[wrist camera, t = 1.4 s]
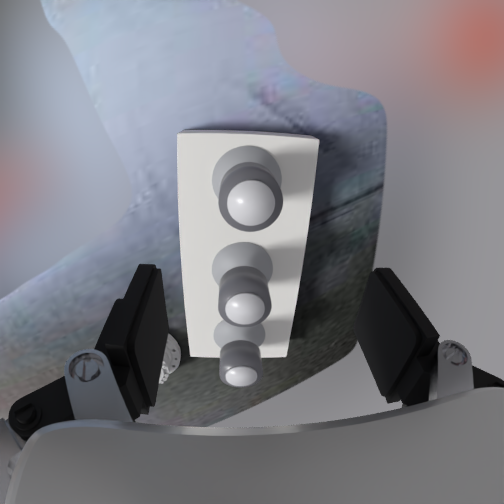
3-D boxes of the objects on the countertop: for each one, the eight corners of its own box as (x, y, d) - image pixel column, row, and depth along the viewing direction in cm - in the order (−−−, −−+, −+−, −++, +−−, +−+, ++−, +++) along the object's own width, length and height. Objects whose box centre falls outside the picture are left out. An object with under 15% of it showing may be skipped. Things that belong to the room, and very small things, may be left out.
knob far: (219, 339, 30) (219, 363, 27) (262, 339, 31) (265, 363, 28) (220, 366, 32) (219, 389, 29) (259, 366, 33) (261, 389, 30)
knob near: (220, 160, 22) (218, 170, 19) (279, 163, 22) (286, 173, 19) (219, 215, 24) (217, 233, 21) (274, 216, 24) (280, 234, 21)
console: (182, 130, 26) (176, 133, 23) (310, 135, 27) (320, 139, 24) (192, 339, 38) (190, 357, 35) (282, 340, 39) (286, 357, 36)
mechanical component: (124, 309, 36) (106, 351, 39) (115, 332, 32) (98, 373, 35) (193, 340, 39) (165, 377, 42) (190, 365, 35) (162, 400, 38)
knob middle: (219, 265, 26) (217, 287, 23) (269, 266, 26) (274, 288, 23) (219, 305, 28) (218, 329, 25) (265, 305, 28) (269, 329, 26)
